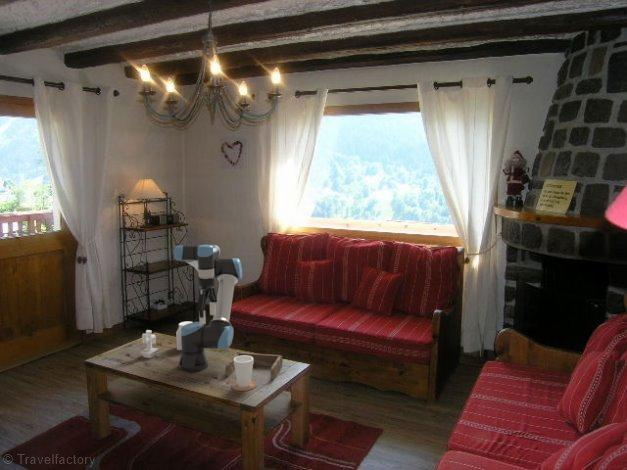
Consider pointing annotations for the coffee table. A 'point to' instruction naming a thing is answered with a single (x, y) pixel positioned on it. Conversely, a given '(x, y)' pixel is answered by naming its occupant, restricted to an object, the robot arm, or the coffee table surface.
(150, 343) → the figurine
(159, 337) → the coffee table surface
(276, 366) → the wooden tray
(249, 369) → the foam cup
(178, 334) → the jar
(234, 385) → the terracotta pad
